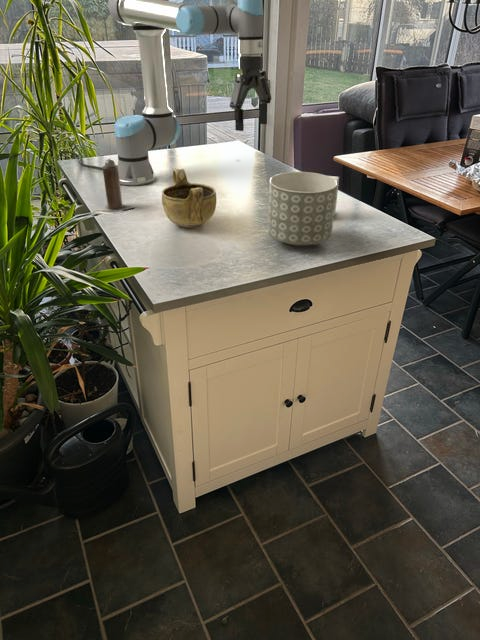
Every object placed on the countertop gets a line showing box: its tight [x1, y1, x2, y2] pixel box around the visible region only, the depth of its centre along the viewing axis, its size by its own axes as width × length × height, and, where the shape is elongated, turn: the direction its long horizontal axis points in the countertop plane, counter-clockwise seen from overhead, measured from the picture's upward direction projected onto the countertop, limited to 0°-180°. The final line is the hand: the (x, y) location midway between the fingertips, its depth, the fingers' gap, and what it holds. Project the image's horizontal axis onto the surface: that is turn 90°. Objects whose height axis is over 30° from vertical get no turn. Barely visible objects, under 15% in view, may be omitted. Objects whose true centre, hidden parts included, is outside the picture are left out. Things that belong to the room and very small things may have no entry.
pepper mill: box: [101, 158, 124, 211], centre depth 170 cm, size 5×5×16 cm
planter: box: [267, 171, 338, 248], centre depth 147 cm, size 19×19×18 cm
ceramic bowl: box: [161, 168, 217, 228], centre depth 158 cm, size 22×17×15 cm
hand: (251, 127), depth 168 cm, fingers open, 13 cm apart
